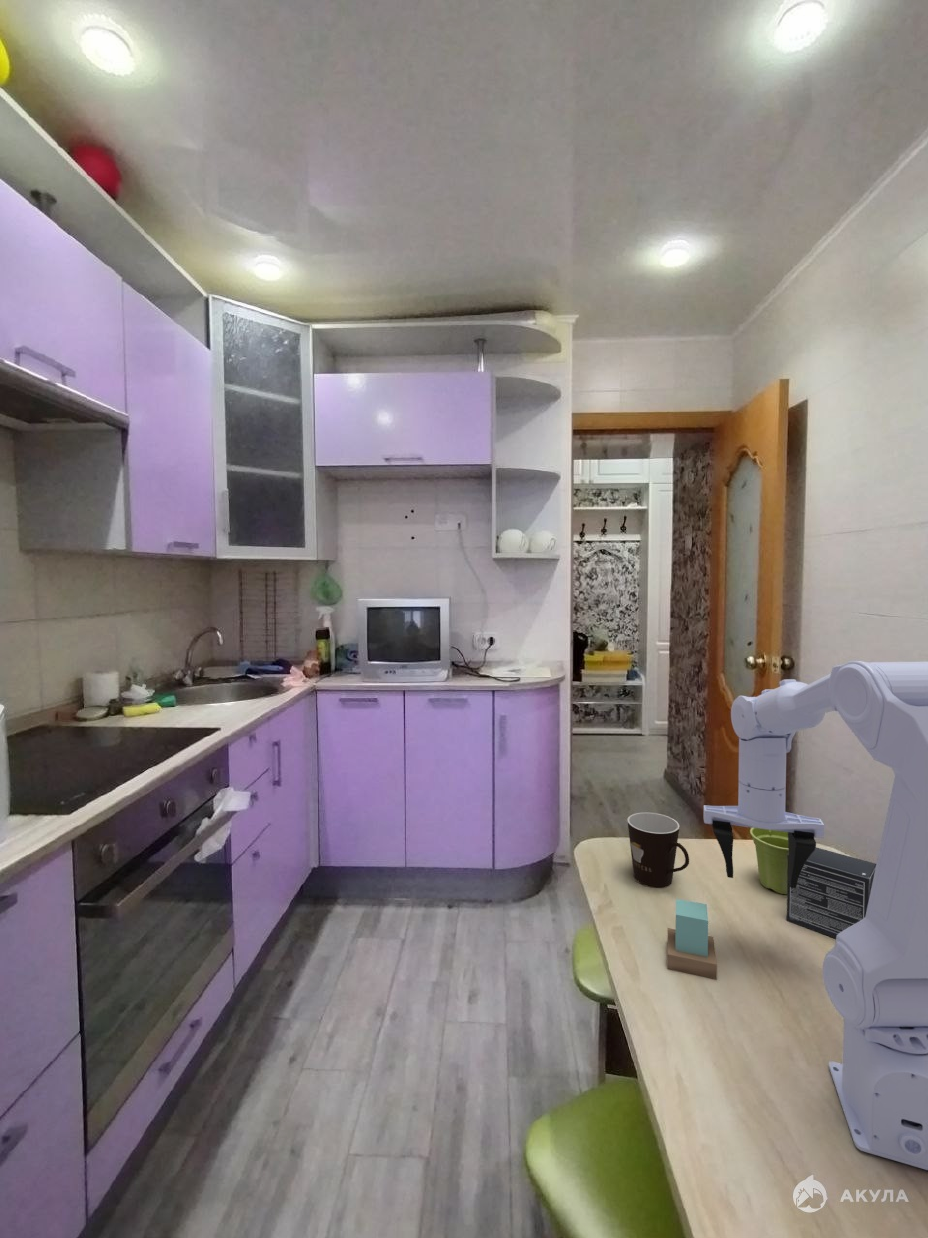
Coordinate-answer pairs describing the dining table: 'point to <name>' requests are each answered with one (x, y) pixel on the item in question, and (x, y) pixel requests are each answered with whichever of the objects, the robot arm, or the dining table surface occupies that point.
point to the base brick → (692, 959)
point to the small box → (830, 892)
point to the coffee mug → (654, 848)
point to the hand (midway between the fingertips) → (760, 879)
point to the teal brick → (691, 927)
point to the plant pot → (772, 858)
